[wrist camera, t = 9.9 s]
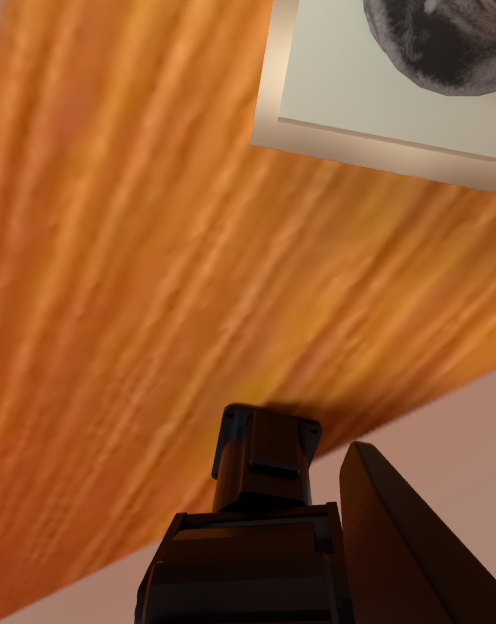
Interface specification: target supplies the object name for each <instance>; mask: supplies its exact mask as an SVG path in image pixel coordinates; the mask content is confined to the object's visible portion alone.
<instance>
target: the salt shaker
mask: <svg viewBox="0 0 496 624" xmlns="http://www.w3.org/2000/svg"><path fill="white" fill-rule="evenodd" d="M363 7H364V12H365V15H366V18H367V21H368V25H369V28H370V31H371V34H372V35H373V37H374V38H375V40H376V41H377V43H378V44H379V46H380V47H381V49H382V50H383V52H385V53H386V54H387V56H388V57H389V59H390V60H391V62H392V63H393V65H394V66H395V68H396V69H397V70H398V71H399V72H401V73H402V74H403V75H404V76H406V77H407V78H408V79H410V80H411V81H412V82H413V83H415V84H416V85H417V86H419V87H421V88H424V89H427V90H430V91H433V92H436V93H439V94H442V95H445V96H481V95H485V94H489V93H493V92H496V0H363Z"/></svg>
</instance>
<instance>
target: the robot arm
mask: <svg viewBox="0 0 496 624" xmlns="http://www.w3.org/2000/svg"><path fill="white" fill-rule="evenodd" d="M229 412H232V413H234V414H229ZM312 428H316V429H315V430H312ZM321 433H322V428H321V425H320V423H319V422H317V421H313V420H307V419H302V418H297V417H291V416H286V415H281V414H276V413H270V412H265V411H260V410H254V409H249V408H244V407H238V406H233V405H229V406H227V407H225V409H224V412H223V417H222V422H221V427H220V433H219V438H218V443H217V448H216V453H215V458H214V464H213V469H212V478H213V479H215V480H217V484H216V490H215V496H214V502H213V507H212V513H198V514H187V513H186V512H185V513H176V515H175V517H174V519H173V521H172V522H171V524H170V526H169V528H168V530H167V532H166V534H165V536H164V538H163V540H162V542H161V544H160V546H159V548H158V550H157V552H156V554H155V556H154V558H153V560H152V562H151V564H150V565H149V567H148V569H147V571H146V574H145V576H144V578H143V580H142V582H141V584H140V586H139V589H138V592H137V605H136V608H135V621H134V624H496V579H495V578H494V577H493V576H492V575H491V574H490V572H489V571H487V569H486V568H485V567H484V566H483V565H482V564H481V563H480V561H479V560H478V559H477V558H476V557H475V556H474V555H473V554H472V553H471V552H470V551H469V549H468V548H467V547H466V546H465V545H464V544H463V543H462V542H461V541H460V539H459V538H458V537H457V536H456V535H455V534H454V533H453V532H452V531H451V530H450V528H449V527H448V526H447V525H446V524H445V523H444V522H443V521H442V520H441V519H440V517H439V516H438V515H437V514H436V513H435V512H434V511H433V510H432V509H431V508H430V507H429V505H428V504H427V503H426V502H425V501H424V500H423V499H422V498H421V497H420V496H419V494H418V493H417V492H416V491H415V490H414V489H413V488H412V487H411V486H410V485H409V484H408V482H407V481H406V480H405V479H404V478H403V477H402V476H401V475H400V474H399V473H398V471H396V469H395V468H394V467H393V466H392V465H391V464H390V463H389V461H388V460H386V458H385V457H384V456H383V455H382V454H381V453H380V452H379V451H378V449H377V448H376V447H375V446H373V445H372V444H370V443H365V442H360V441H353V442H352V443H351V444H350V446H349V449H348V451H347V454H346V456H345V459H344V461H343V464H342V466H341V470H340V476H339V478H340V479H339V481H340V495H341V496H340V497H341V513H342V526H341V522H340V517H339V512H338V507H337V502H327V503H326V504H325V505H312V499H311V489H310V480H309V471H308V470H309V467H310V464H311V461H312V459H313V456H314V453H315V450H316V447H317V444H318V441H319V439H320V436H321ZM342 530H343V531H342Z"/></svg>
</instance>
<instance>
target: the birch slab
mask: <svg viewBox="0 0 496 624" xmlns="http://www.w3.org/2000/svg"><path fill="white" fill-rule="evenodd" d="M298 5H299V0H274V2H273V8H272V14H271V20H270V26H269V32H268V38H267V44H266V50H265V56H264V62H263V68H262V75H261V81H260V87H259V93H258V99H257V105H256V111H255V117H254V123H253V129H252V135H251V141H250V145H254V146H259V147H264V148H269V149H274V150H279V151H284V152H289V153H294V154H299V155H304V156H310V157H315V158H320V159H325V160H330V161H335V162H340V163H345V164H350V165H355V166H360V167H365V168H370V169H375V170H380V171H385V172H390V173H396V174H401V175H406V176H411V177H416V178H421V179H426V180H431V181H436V182H441V183H446V184H451V185H456V186H461V187H466V188H471V189H477V190H482V191H487V192H493V193H496V162H494V161H483V160H477V159H472V158H467V157H462V156H456V155H451V154H446V153H440V152H435V151H430V150H425V149H419V148H414V147H409V146H403V145H398V144H393V143H388V142H382V141H377V140H372V139H367V138H361V137H356V136H351V135H345V134H340V133H335V132H330V131H324V130H319V129H314V128H308V127H303V126H298V125H293V124H287V123H282V122H277V121H278V115H279V109H280V104H281V98H282V93H283V87H284V82H285V76H286V71H287V65H288V60H289V54H290V49H291V43H292V38H293V32H294V27H295V21H296V16H297V10H298Z"/></svg>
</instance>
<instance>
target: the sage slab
mask: <svg viewBox="0 0 496 624" xmlns="http://www.w3.org/2000/svg"><path fill="white" fill-rule="evenodd" d="M277 122H282V123H287V124H293V125H298V126H303V127H308V128H314V129H319V130H324V131H330V132H335V133H340V134H345V135H351V136H356V137H361V138H367V139H372V140H377V141H382V142H388V143H393V144H398V145H403V146H409V147H414V148H419V149H425V150H430V151H435V152H440V153H446V154H451V155H456V156H462V157H467V158H472V159H477V160H483V161H494V162H496V92H493V93H489V94H485V95H481V96H445V95H442V94H439V93H436V92H433V91H430V90H427V89H424V88H421V87H419V86H417V85H416V84H415V83H413V82H412V81H411V80H410V79H408V78H407V77H406V76H404V75H403V74H402V73H401V72H399V71H398V70H397V69H396V68H395V66H394V65H393V63H392V62H391V60H390V59H389V57H388V56H387V54H386V53H385V52H383V50H382V49H381V47H380V46H379V44H378V43H377V41H376V40H375V38H374V37H373V35H372V34H371V31H370V28H369V25H368V21H367V18H366V15H365V12H364V7H363V0H299V5H298V10H297V16H296V21H295V27H294V32H293V38H292V43H291V49H290V54H289V60H288V65H287V71H286V76H285V82H284V87H283V93H282V98H281V104H280V109H279V115H278V121H277Z"/></svg>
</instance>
